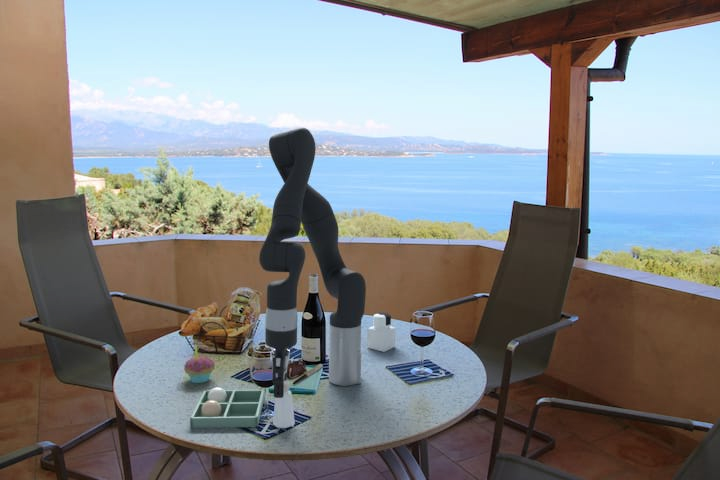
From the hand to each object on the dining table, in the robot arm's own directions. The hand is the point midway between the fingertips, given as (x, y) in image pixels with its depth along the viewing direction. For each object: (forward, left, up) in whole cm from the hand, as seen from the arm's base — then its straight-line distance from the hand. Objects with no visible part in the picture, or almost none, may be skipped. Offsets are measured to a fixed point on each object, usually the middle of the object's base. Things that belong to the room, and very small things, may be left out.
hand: (280, 389), depth 132 cm
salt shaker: (-1, 0, -9) cm, 9 cm away
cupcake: (+25, -27, -9) cm, 38 cm away
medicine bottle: (-31, -55, -9) cm, 64 cm away
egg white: (+17, -10, -8) cm, 21 cm away
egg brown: (+17, -2, -8) cm, 19 cm away
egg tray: (+13, -6, -9) cm, 17 cm away
